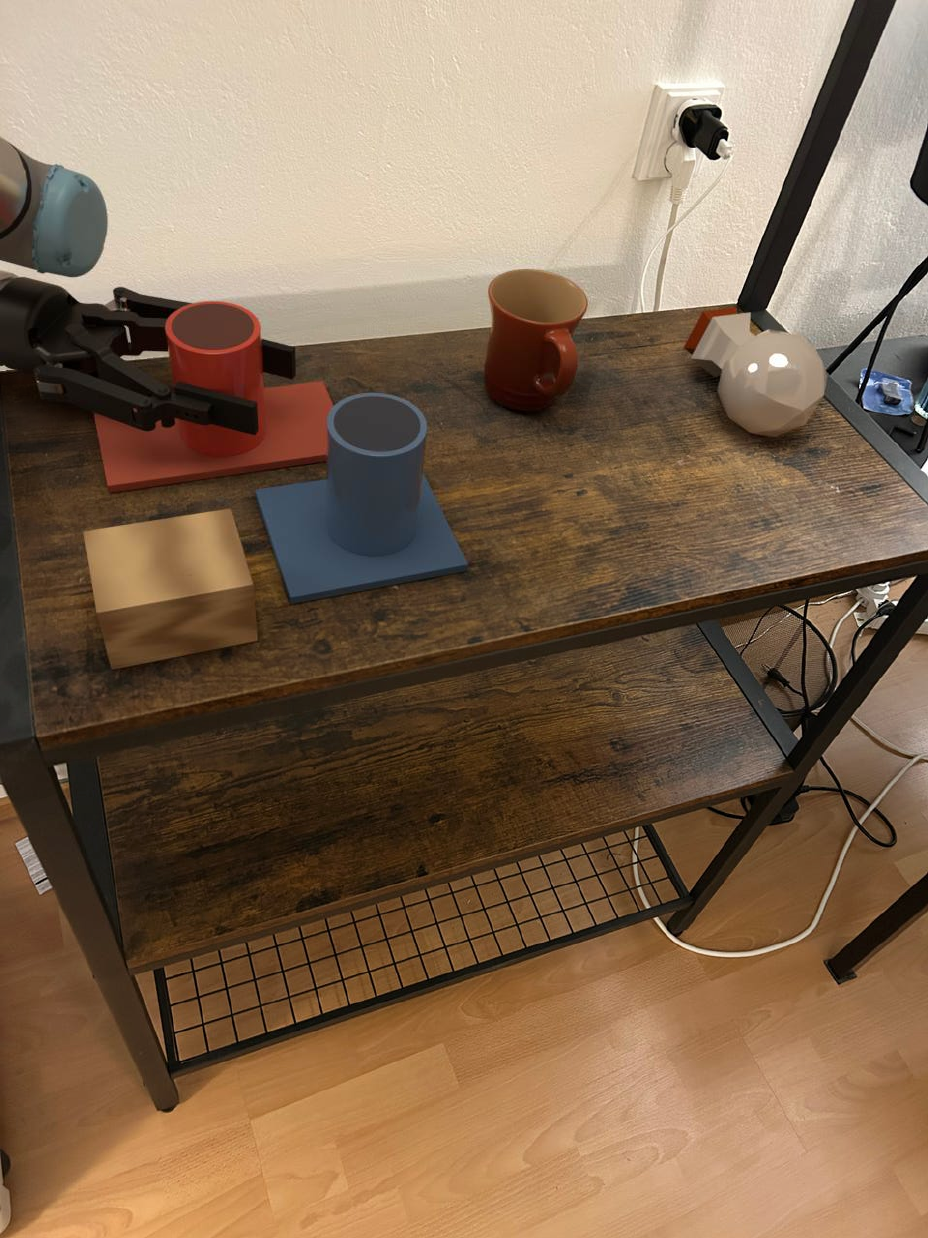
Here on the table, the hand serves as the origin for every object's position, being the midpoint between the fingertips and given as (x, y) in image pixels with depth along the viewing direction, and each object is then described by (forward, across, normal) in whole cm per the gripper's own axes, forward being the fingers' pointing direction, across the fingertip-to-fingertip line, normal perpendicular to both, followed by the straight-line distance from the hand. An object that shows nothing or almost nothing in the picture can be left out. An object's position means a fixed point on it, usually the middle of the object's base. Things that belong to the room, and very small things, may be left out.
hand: (275, 390), depth 78 cm
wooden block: (0, +20, -6) cm, 21 cm away
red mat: (-5, 0, -6) cm, 8 cm away
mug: (+19, -15, -6) cm, 25 cm away
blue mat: (+10, +7, -6) cm, 13 cm away
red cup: (-5, 0, -6) cm, 7 cm away
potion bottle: (+38, -23, -6) cm, 45 cm away
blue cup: (+10, +6, -5) cm, 13 cm away
